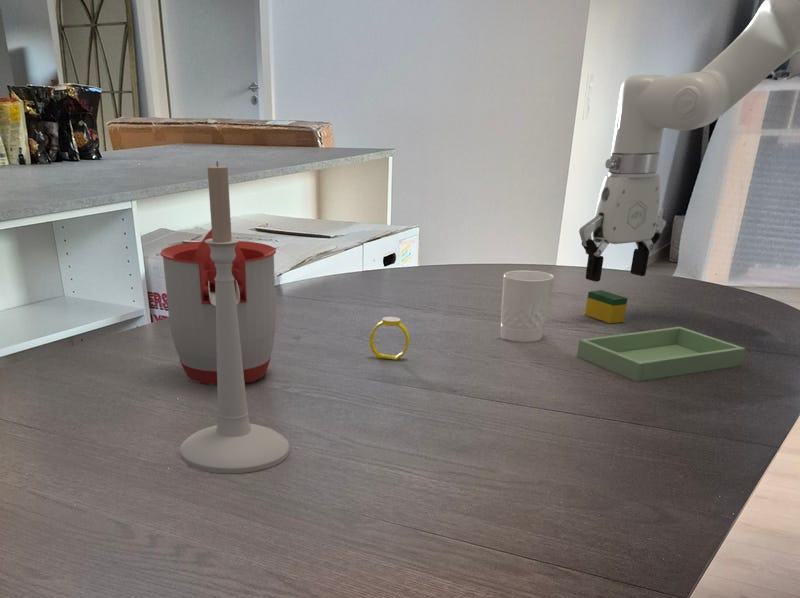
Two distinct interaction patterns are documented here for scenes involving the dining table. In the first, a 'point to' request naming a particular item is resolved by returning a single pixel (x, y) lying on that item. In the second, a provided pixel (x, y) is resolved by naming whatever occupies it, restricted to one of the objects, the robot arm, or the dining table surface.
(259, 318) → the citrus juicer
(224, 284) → the candlestick
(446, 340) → the dining table surface
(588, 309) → the sponge
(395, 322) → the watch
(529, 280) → the white cup
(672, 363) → the tray
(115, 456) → the dining table surface
